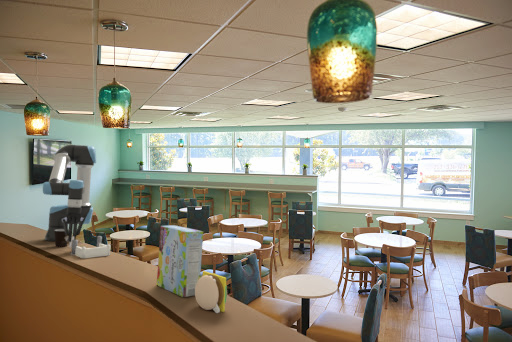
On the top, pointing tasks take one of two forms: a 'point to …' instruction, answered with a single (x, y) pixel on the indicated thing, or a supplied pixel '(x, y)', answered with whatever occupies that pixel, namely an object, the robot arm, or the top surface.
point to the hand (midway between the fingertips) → (71, 247)
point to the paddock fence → (93, 250)
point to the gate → (74, 245)
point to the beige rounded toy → (211, 292)
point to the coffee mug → (60, 238)
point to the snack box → (179, 259)
